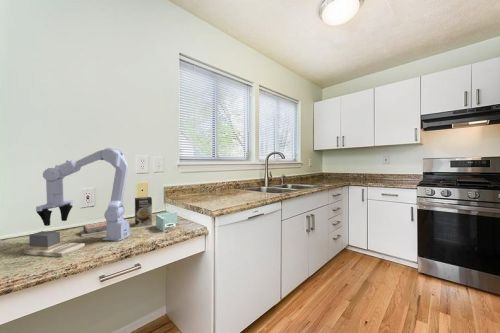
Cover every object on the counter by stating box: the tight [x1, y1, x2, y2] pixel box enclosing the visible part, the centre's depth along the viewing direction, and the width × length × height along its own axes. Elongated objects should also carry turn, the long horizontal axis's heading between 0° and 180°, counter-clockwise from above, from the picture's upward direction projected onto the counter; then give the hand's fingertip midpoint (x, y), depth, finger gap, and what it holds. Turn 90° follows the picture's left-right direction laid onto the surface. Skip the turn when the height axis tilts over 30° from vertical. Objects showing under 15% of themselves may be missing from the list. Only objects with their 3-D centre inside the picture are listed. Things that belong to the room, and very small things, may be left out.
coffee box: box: [134, 196, 153, 228], centre depth 128 cm, size 9×6×16 cm
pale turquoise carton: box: [155, 211, 178, 233], centre depth 124 cm, size 12×12×8 cm
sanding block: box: [29, 230, 61, 249], centre depth 93 cm, size 9×5×6 cm, turn 81°
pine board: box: [23, 241, 86, 258], centre depth 92 cm, size 18×10×2 cm, turn 82°
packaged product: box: [79, 221, 107, 238], centre depth 117 cm, size 18×5×10 cm
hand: (56, 223), depth 100 cm, fingers open, 7 cm apart
